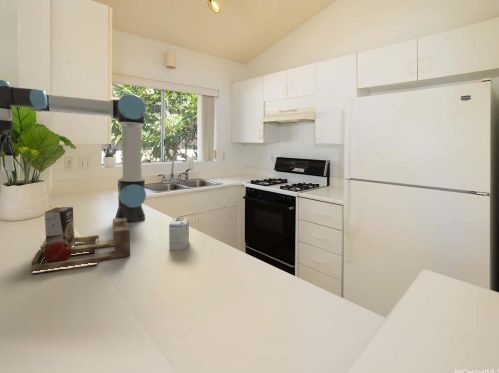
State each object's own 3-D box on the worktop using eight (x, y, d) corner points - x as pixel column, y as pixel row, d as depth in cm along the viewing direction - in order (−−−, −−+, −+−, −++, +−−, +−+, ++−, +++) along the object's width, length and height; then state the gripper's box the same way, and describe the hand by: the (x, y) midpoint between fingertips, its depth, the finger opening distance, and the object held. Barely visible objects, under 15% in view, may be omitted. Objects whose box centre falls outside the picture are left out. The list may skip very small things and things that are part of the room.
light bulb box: (173, 241, 122) (173, 217, 120) (189, 241, 122) (189, 217, 121) (168, 250, 111) (168, 223, 110) (185, 250, 112) (186, 224, 110)
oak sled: (40, 257, 98) (38, 230, 97) (47, 245, 110) (45, 221, 109) (128, 247, 111) (127, 223, 110) (125, 237, 123) (125, 215, 122)
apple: (63, 268, 91) (62, 245, 90) (38, 268, 91) (36, 244, 90) (75, 259, 99) (74, 237, 97) (52, 259, 98) (51, 237, 97)
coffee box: (65, 254, 103) (63, 211, 101) (46, 255, 101) (43, 211, 99) (75, 246, 112) (73, 206, 110) (57, 246, 110) (55, 206, 108)
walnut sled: (31, 274, 86) (29, 242, 85) (40, 258, 98) (38, 230, 96) (131, 260, 99) (130, 233, 98) (128, 247, 111) (127, 223, 109)
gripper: (-1, 121, 122) (3, 169, 125) (-26, 116, 100) (-20, 175, 103) (20, 122, 125) (24, 169, 128) (1, 117, 103) (6, 174, 106)
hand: (4, 172), depth 115 cm, fingers open, 13 cm apart
